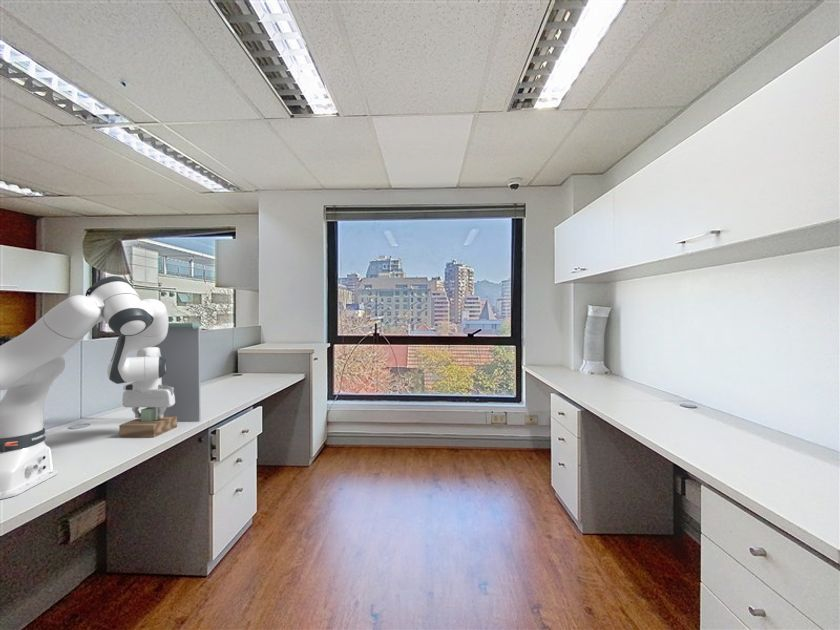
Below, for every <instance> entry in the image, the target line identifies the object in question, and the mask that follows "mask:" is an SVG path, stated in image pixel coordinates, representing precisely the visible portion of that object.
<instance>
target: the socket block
mask: <svg viewBox="0 0 840 630" xmlns="http://www.w3.org/2000/svg"><path fill="white" fill-rule="evenodd" d="M177 427H178V422H177V416H163V417H162V418H158V419H157V420H155V421H152V422H141V417H140V418H135V419H132V420H130V421H127V422H125V423H121V424H119V428H118V429H119V431H118V432H119V433H118V434H119V436H118V437H119V438H121V439H123V438H127V439H128V438H131V439H132V438H142V439H143V438H145V439H146V438H148V439H149V438H155V437H158V436H161V435H163V434H164V433H165V434H166V433H167V432H169V431H171V430H174V429H175V428H177Z"/></svg>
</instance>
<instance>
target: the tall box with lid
mask: <svg viewBox="0 0 840 630" xmlns="http://www.w3.org/2000/svg"><path fill="white" fill-rule="evenodd" d="M153 347H158V348H159V349H160V353H161V357H162V358H163V359H165V360H166V363H165V367H166V374H165V375H164V376H162V385H170V386H172V387H173V388H174V396H175V404H174V405H173V406H171V407H166V410H165V412H164V415H163V416H177V423H178V422H179V423H181V422H182V423H183V422H184V423H185V422H187V423H188V422H189V423H191V422H192V423H194V422H195V423H197V422H198V423H200V422H201V418H202V417H201V324H200V322H169V324H168V332H167V336H166V338H165V339H164V340H163V341H162V342H161V343H160V344H158V345H156V346H153ZM160 411H161V410H160V407H157V413H158V414H159V413H160Z"/></svg>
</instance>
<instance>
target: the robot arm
mask: <svg viewBox="0 0 840 630" xmlns="http://www.w3.org/2000/svg"><path fill="white" fill-rule="evenodd" d="M104 321H106V323H107V325H108V327H109V329H110V330H111V331H112V332H113V333H114V334H116V335H118V338H117V340H116V344H115V347H114V351H113V352H112V353H113V354H112V357H111V360H110V362H109V363H108V366H107V377H108V379H109V381H111V382H112V383H114V384H117V385H119V384H124V385H123V387H122V388H123V394H122V406H123V407H124V408H131V411H132V412H133V414H134V418H135V419H137V418H140V417H141V411H140V410H139V409H140V408H147V407H160V410H161V411H160V413H159V414H157V418H162V417H163V415H164V412H165V410H166V407H171V406H173V405H174V404H175V396H174V388H173V387H172V386H170V385H162V376H164V375H165V374H166V367H165V363H166V360H165V359H163V358H162V357H161V353H160V349H159V348H158V347H153V346H156V345H158V344H160V343H161V342H162V341H163V340H164V339H165V338H166V336H167V332H168V324H169V323H170V322H169V314H168V309H167V307H166V305H165V304H164V302H162V301H161V300H159V299H157V298H143V299H141V297H140V295H139V294H138V293H137V291H136V290H135V289H134V287H133V285H132V284H131V283H130V282H129V281H128V280H127V279H125V278H124V277H121V276H118V275H115V276H114V275H113V276H111V275H110V276H107V277H104V278H102V279H100V280H98V281H96V282H94V283H93V285H92V286H90V287H88V288H87V290H86V292H85V295H83V294H76V295H72V296H70V297H67V298H66V299H64V300H62V301H61V302H59V303H58V304H57V305H55V306H53V307H52V308H51V309H50V310H48V311H47V312H46V313H45V314H44V315H42V316H41V317H40V318H39V319H38V320H37V321H36V322H35V323H33V324H32V325H31V326H30V327H28V328H27V329H26V330H24V331H23V332H22V333H21V334H19V335H17V336H16V337H14V338H12V339H9V340H8V341H7V342H4V343H3V344H1V345H0V391H6V392H5V394H4V396H3V398H2V399H1V400H0V500H5V499H8V498H12V497H15V496H18V495H20V494H21V493H23V492H25V491H27V490H29V489H31V488H33V487H35V486H37V485H39V484H41V483H43V482H44V481H47V480H49V479H51V478H52V477H54V476H56V475H58V474H59V472H58V470H57V469H53V459H52V458H53V457H52V451H51V448H50V446H48V445H47V444H46V443H45V440H46V433H47V432H46V428H45V427H44V406H45V401H46V398H47V395H48V393H49V390H50V388H51V386H52V385H53V383H54V382H55V380H56V379H57V378H58V377H59V376H60V375H62V373H63V372H64V370H65V368H66V361H65V358H64V356H63V355H65V354H67V352H69V350H71V349H72V348H73V347H74V346H75V345H77V344H78V343H79V341H81V340H82V339H83V338H84V337H85V336H86V335H87V334H88V333H89V332H90V331H91V330H92V329H93V328H94V326H95V325H97V324H99V323H101V322H104ZM134 351H135V352H136V351H137V352H136V356H133V357H131V356H130V357H128V355H129V353H132V352H134ZM125 383H126V384H125ZM127 383H128V384H127Z"/></svg>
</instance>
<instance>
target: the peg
mask: <svg viewBox="0 0 840 630" xmlns="http://www.w3.org/2000/svg"><path fill="white" fill-rule="evenodd" d="M140 413H141V422H152V421H155V420H157V419H158V418H157V414H158V413H157V407H143V408H142V409H140Z"/></svg>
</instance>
